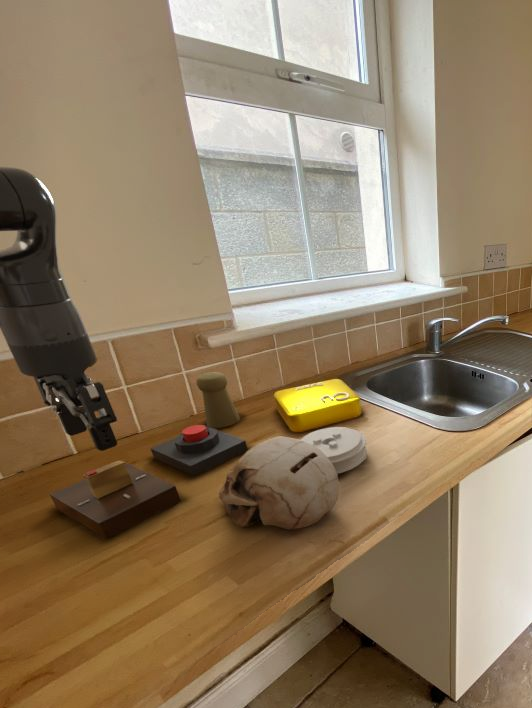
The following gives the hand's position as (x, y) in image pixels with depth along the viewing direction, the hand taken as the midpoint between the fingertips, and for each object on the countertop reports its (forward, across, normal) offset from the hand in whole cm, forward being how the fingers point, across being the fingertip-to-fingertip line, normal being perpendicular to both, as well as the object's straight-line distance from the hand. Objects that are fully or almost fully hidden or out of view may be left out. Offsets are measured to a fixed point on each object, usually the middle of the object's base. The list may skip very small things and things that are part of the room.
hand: (92, 440), depth 66 cm
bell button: (+8, +4, -15) cm, 18 cm away
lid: (+12, -19, -25) cm, 34 cm away
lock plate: (+12, 0, 0) cm, 12 cm away
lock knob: (+9, 0, 0) cm, 9 cm away
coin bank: (+12, -23, -11) cm, 28 cm away
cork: (+12, +13, -25) cm, 31 cm away
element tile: (+12, 0, -38) cm, 40 cm away
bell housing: (+12, +4, -15) cm, 20 cm away
